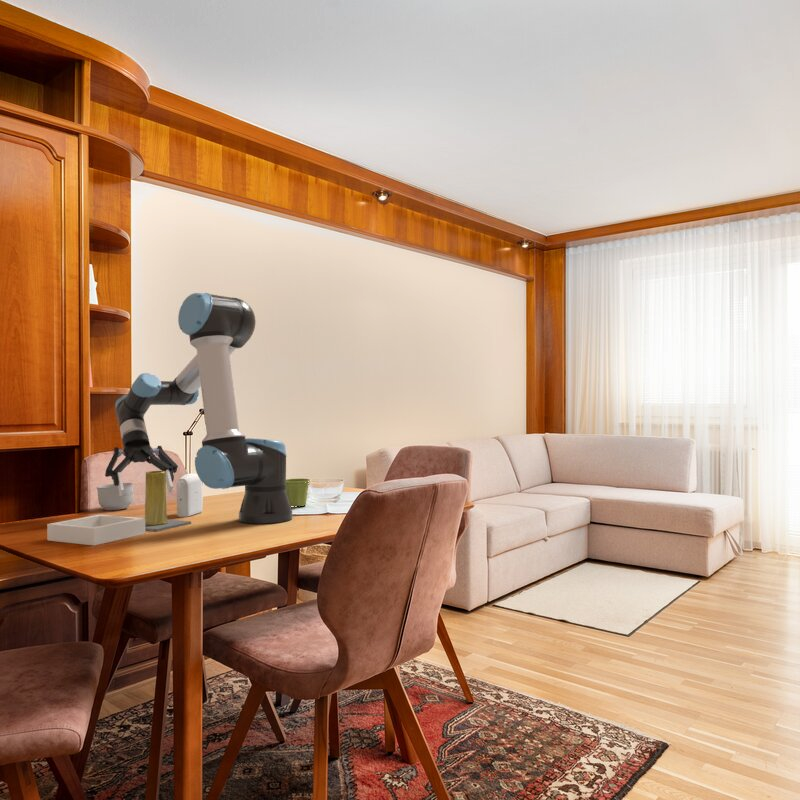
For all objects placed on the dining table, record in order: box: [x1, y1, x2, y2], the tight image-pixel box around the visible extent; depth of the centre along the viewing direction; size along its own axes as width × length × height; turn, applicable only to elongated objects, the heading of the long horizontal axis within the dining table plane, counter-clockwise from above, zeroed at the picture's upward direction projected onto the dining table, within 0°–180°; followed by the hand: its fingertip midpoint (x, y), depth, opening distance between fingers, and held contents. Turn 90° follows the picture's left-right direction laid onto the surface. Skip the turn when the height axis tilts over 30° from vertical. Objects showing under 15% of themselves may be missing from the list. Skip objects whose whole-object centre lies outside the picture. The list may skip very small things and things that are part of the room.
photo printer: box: [176, 473, 204, 518], centre depth 207 cm, size 10×4×12 cm, turn 168°
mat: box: [145, 518, 192, 532], centre depth 188 cm, size 13×13×1 cm
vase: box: [144, 470, 168, 525], centre depth 188 cm, size 6×6×14 cm
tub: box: [46, 514, 146, 546], centre depth 172 cm, size 16×16×4 cm
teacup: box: [96, 482, 134, 511], centre depth 221 cm, size 14×11×8 cm
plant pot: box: [286, 478, 311, 507], centre depth 222 cm, size 9×9×9 cm
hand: (147, 491), depth 197 cm, fingers open, 13 cm apart
